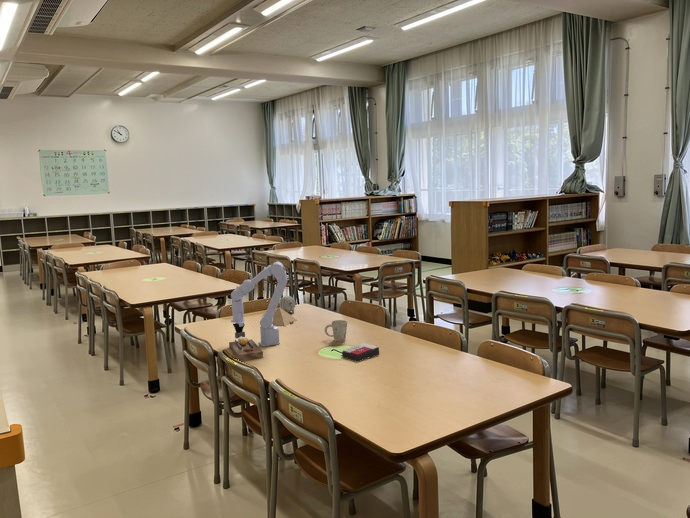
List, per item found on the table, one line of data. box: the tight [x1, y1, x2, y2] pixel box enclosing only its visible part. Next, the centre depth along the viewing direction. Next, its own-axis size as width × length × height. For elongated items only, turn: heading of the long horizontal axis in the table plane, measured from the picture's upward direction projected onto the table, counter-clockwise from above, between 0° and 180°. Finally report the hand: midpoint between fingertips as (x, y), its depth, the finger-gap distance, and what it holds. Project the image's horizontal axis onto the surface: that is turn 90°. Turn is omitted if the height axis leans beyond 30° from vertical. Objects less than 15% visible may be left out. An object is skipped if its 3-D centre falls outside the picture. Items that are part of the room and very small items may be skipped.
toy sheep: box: [278, 295, 297, 314], centre depth 358 cm, size 11×17×11 cm, turn 34°
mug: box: [324, 319, 348, 342], centre depth 291 cm, size 8×13×10 cm, turn 78°
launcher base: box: [228, 338, 264, 362], centre depth 273 cm, size 12×24×4 cm, turn 22°
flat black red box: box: [341, 342, 380, 362], centre depth 264 cm, size 11×4×15 cm
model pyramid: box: [272, 306, 298, 328], centre depth 332 cm, size 17×17×10 cm
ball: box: [240, 338, 248, 345], centre depth 276 cm, size 4×4×4 cm
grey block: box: [234, 331, 248, 344], centre depth 281 cm, size 5×8×4 cm, turn 22°
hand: (239, 336), depth 287 cm, fingers closed
